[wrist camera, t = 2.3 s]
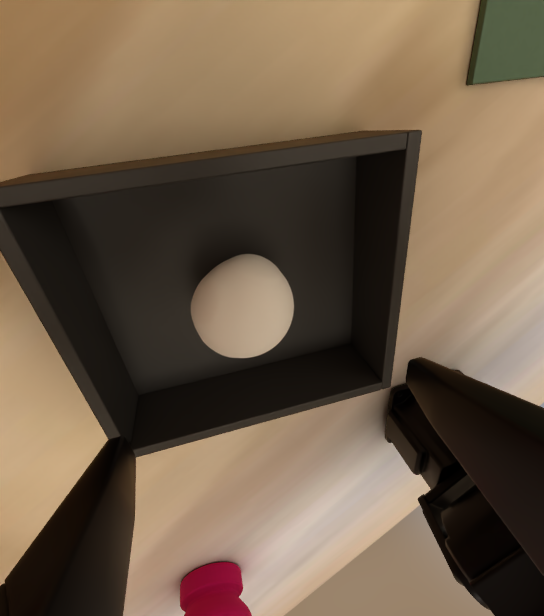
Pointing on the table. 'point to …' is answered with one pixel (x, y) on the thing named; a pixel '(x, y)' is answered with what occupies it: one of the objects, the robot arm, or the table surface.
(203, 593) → the pepper mill
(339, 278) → the black box
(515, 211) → the table surface
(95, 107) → the table surface
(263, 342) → the mushroom
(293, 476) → the table surface
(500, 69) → the placemat
